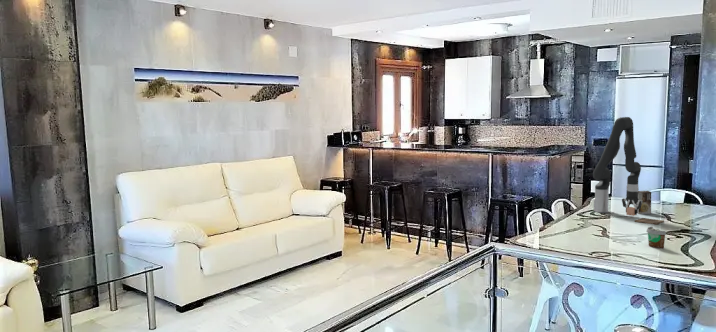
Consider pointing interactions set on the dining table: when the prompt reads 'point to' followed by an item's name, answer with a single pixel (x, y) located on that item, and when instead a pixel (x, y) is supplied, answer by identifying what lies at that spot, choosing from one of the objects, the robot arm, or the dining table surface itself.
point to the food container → (656, 237)
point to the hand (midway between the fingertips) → (631, 213)
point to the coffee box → (644, 202)
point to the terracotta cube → (630, 211)
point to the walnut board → (649, 221)
